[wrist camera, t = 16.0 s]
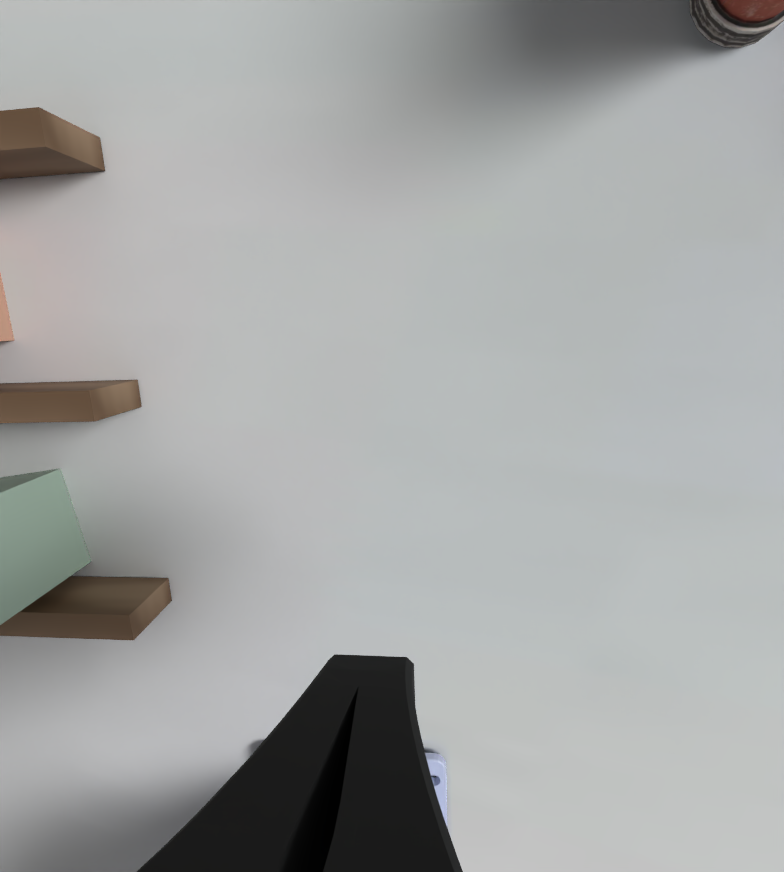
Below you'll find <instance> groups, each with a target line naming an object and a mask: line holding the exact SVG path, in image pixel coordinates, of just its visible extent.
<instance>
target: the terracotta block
mask: <svg viewBox="0 0 784 872" xmlns="http://www.w3.org/2000/svg"><path fill="white" fill-rule="evenodd" d="M12 340H14V336H13V331H12V326H11V322H10V317H9V312H8V307H7V302H6V297H5V292H4V287H3V283H2V278H1V273H0V341H12Z"/></svg>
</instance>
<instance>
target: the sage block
mask: <svg viewBox="0 0 784 872" xmlns="http://www.w3.org/2000/svg"><path fill="white" fill-rule="evenodd" d="M90 562H91V559H90V556H89V553H88V550H87V547H86V544H85V541H84V538H83V535H82V532H81V529H80V526H79V523H78V520H77V517H76V514H75V511H74V508H73V505H72V502H71V499H70V496H69V493H68V490H67V487H66V483H65V480H64V477H63V474H62V471H61V469H54V470H48V471H41V472H35V473H28V474H21V475H15V476H8V477H2V478H0V625H1V624H3V623H4V622H5V621H7V620H8V619H10V618H11V617H13V616H14V615H15V614H17V613H18V612H20V611H21V610H23V609H24V608H25V607H27V606H28V605H30V604H31V603H33V602H34V601H35V600H37V599H38V598H40V597H41V596H43V595H44V594H46V593H47V592H48V591H50V590H51V589H53V588H54V587H56V586H57V585H58V584H60V583H61V582H63V581H64V580H66V579H67V578H68V577H70V576H71V575H73V574H74V573H76V572H77V571H78V570H80V569H81V568H83V567H84V566H86V565H87V564H88V563H90Z"/></svg>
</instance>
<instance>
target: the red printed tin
mask: <svg viewBox="0 0 784 872" xmlns="http://www.w3.org/2000/svg"><path fill="white" fill-rule="evenodd" d="M689 2H690V13H691V16H692V19H693V21H694V23H695V25H696V27H697V29H698V30H699V31H700V32H701V33H702V34H703V35H704V36H705V37H706V38H707V39H708V40H709V41H711V42H714V43H716V44H718V45H721V46H723V47H737V48H741V47H744V46H747V45H750V44H753V43H756V42H758V41H759V40H760V39H762V38H763V37H765V36H766V35H767V34H769V33H770V32H771V31H772V30H773V29H774V28H776V27H777V26H778V25H779V24H780V23H781V22H783V21H784V0H689Z"/></svg>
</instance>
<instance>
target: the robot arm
mask: <svg viewBox="0 0 784 872" xmlns="http://www.w3.org/2000/svg"><path fill="white" fill-rule="evenodd" d="M431 775H435V776H438V777H431ZM137 872H463V871H462V869H461V866H460V863H459V860H458V858H457V855H456V852H455V849H454V846H453V844H452V841H451V838H450V835H449V832H448V829H447V779H446V761H445V759H444V758H443V756H441V755H439V754H436V753H425V751H424V747H423V743H422V739H421V735H420V730H419V726H418V721H417V715H416V709H415V689H414V664H413V663H412V662H411V661H410V660H409V659H408V658H407V657H386V656H360V655H334V656H333V657H332V658H330V659H329V660H328V662H327V663H326V664H325V666H324V667H323V668H322V670H321V671H320V672H319V674H318V675H317V676H316V677H315V679H314V680H313V681H312V683H311V684H310V685H309V687H308V688H307V689H306V690H305V692H304V693H303V694H302V695H301V697H300V698H299V699H298V700H297V702H296V703H295V704H294V705H293V707H292V708H291V709H290V710H289V712H288V713H287V714H286V715H285V717H284V718H283V719H282V720H281V721H280V722H279V724H278V725H277V726H276V727H275V728H274V730H273V731H272V732H271V733H270V734H269V735H268V737H267V738H266V739H265V740H264V741H263V743H262V744H261V745H260V746H259V747H258V748H257V750H256V751H255V752H254V753H253V754H252V755H251V756H250V758H249V759H248V760H247V761H246V762H245V763H244V764H243V765H242V766H241V767H240V769H239V770H238V771H237V772H236V773H235V774H234V775H233V776H232V777H231V778H230V779H229V780H228V781H227V782H226V784H225V785H224V786H223V787H222V788H221V789H220V790H219V791H218V792H217V793H216V794H215V795H214V796H213V797H212V799H211V800H210V801H209V802H208V803H207V804H206V805H205V806H204V807H203V808H202V809H201V810H200V811H199V812H198V813H197V814H196V815H195V816H194V817H193V818H192V819H191V820H190V821H189V822H188V823H187V824H186V825H185V826H184V827H183V828H182V829H181V830H180V831H179V832H178V833H177V834H176V835H175V836H174V837H173V838H172V839H171V840H170V841H169V842H168V843H167V844H166V845H165V846H164V847H163V848H162V849H161V850H159V851H158V852H157V853H156V854H155V855H154V856H153V857H152V858H151V859H150V860H149V861H148V862H147V863H146V864H144V865H143V866H142V867H141V868H140V869H139V870H138V871H137Z"/></svg>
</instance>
